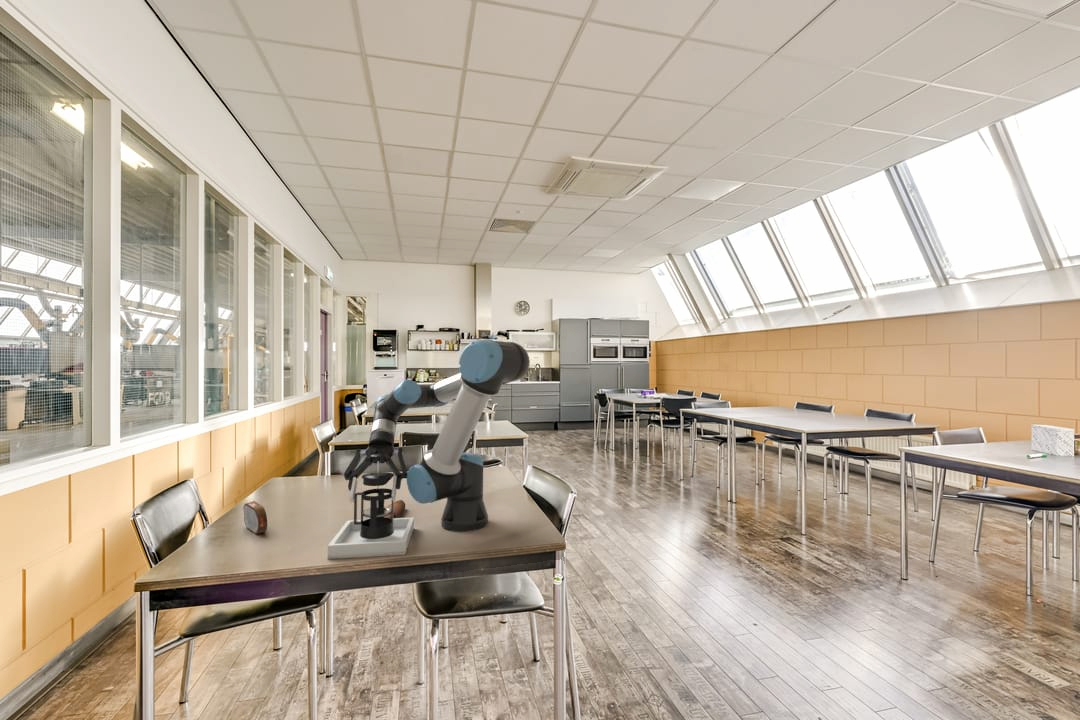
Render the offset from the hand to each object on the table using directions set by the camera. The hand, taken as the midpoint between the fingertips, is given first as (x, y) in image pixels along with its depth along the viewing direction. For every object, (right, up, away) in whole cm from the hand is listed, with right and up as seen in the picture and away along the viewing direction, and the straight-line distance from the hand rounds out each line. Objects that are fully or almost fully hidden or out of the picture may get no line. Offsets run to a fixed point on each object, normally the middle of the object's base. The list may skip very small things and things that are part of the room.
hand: (372, 499), depth 136 cm
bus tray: (0, -13, +2) cm, 14 cm away
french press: (0, -11, +3) cm, 11 cm away
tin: (-41, -14, +13) cm, 46 cm away
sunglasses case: (-4, -15, +27) cm, 31 cm away
